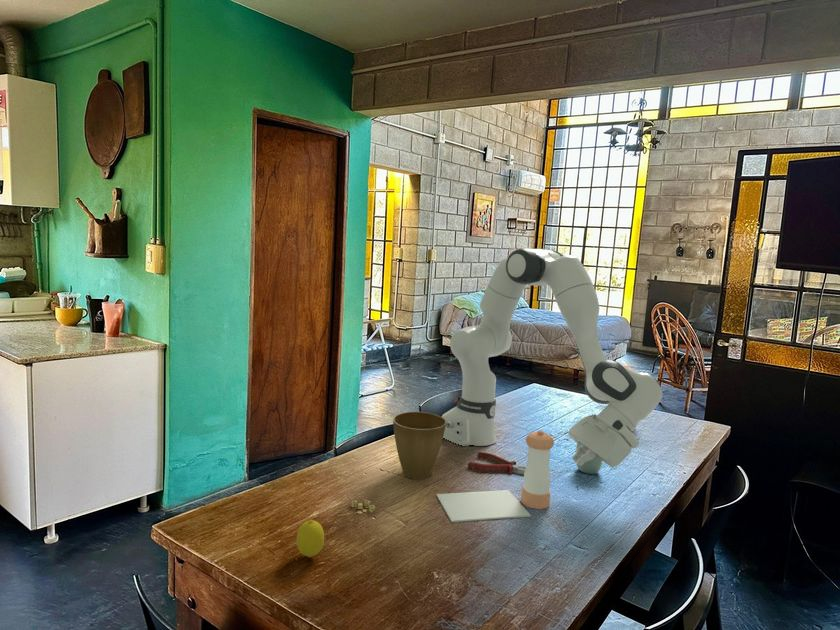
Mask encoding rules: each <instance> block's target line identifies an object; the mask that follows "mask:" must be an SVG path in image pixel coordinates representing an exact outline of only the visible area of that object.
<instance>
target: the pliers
mask: <svg viewBox="0 0 840 630" xmlns="http://www.w3.org/2000/svg"><path fill="white" fill-rule="evenodd" d="M477 457H478V458H477ZM476 458H477V459H480V458H482V459H481V460H485V459H487V460H486V461H490V460H491V461H490V462H493V464H492V463H490V464H489V463H487V464H486V463H478V462H476V461H469V462H468V464H467V469H468V468H469V469H468V470H470V469H472V470H471V471H475V470H476V471H475V472H479V471H480V473H508V474H509V475H512V474H513V473H514V474H518V475H523V476H524V473H525V469H526V466H523V465H519V464H517V462H516V460H513V461H509V460H507V459H505V458H503V457H500V456H498V455H495V454H493V453H489V452H485V451H479V452H477V454H476ZM494 463H495V464H494Z"/></svg>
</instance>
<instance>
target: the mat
mask: <svg viewBox="0 0 840 630" xmlns="http://www.w3.org/2000/svg"><path fill="white" fill-rule="evenodd" d="M435 496H436V497H438V498H437V499H438V500H439V502H440V504H441V507H442V508H443V510H444V511H445V513H446V514H447V517H448V518H449V520H450V521H451V523H459V522H473V521H474V522H475V521H488V520H501V519H514V518H515V519H519V518H530V517H531V514H530V513H529V512H528V510H527V509H526V508H525V507H524V506H523V504H522V503H520V502H519V500H518V499H517V498H516V496H514V495H513V493H512V492H511V491H510V490H509V489H502V490H488V491H487V490H486V491H485V490H484V491H483V490H482V491H470V492H469V491H468V492H450V493H436V495H435Z"/></svg>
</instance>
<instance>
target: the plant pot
mask: <svg viewBox="0 0 840 630" xmlns="http://www.w3.org/2000/svg"><path fill="white" fill-rule="evenodd" d="M392 424H393V434H394V435H393V436H394V441H395V446H396V453H397V456H398V459H399V463H400V466H401V469H402V472H403V476H405V477H407V478H409V479H412V478H413V480H423V478H424V479H426V478H428V477H429V476H430V475H431V473H432V470H433V468H434V465H435V463H436V461H437V459H438V455H439V453H440V449H441V446H442V443H443V440H444V439H443V435H444V431H445V426H446V420H445V419H444V418H442V416H440V415H438V414H435V413H431V412H425V411H406V412H405V411H404V412H402V413H397V414H396V415H394V416H393V418H392Z"/></svg>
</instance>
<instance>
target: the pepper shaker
mask: <svg viewBox="0 0 840 630" xmlns="http://www.w3.org/2000/svg"><path fill="white" fill-rule="evenodd" d="M525 442H526V444H527V446H528V451H527V459H526V460H527V461H526V465H525V467H526V469H525V473H524V475H523V485H522V486H521V491H520V492H521V494H520V495H521V496H520V502H521V505H524V506H525V507H527V508H531V509H536V510H543V509H547V508H549V507H550V503H551V502H550V500H551V490H550V485H551V484H550V483H551V471H550V457H551V449H552V448H553V447H554V444H555V441H554V438H553V436H552V435H550V434H548V433H546V432H544V431H543V430H541V429H540V430H537V431H534V432H533V431H532V432H530V433H528V434H527V436H526V438H525Z"/></svg>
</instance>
